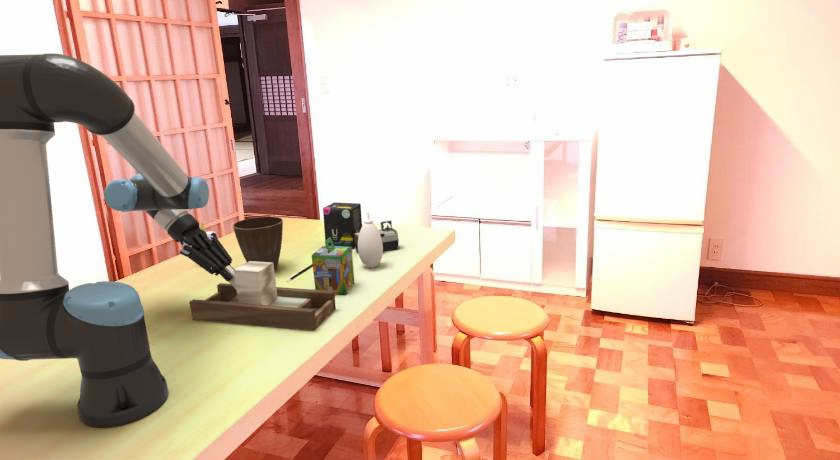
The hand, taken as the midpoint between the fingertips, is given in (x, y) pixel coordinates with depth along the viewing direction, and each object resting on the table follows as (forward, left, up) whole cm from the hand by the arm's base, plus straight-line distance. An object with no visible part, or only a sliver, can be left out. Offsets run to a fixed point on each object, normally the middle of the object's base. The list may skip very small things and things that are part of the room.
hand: (242, 286), depth 143 cm
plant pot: (+29, +12, -7) cm, 32 cm away
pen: (+31, -1, -7) cm, 32 cm away
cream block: (-1, -5, -4) cm, 6 cm away
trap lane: (-1, -5, -7) cm, 9 cm away
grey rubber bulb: (+38, -21, -7) cm, 44 cm away
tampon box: (+59, -3, -7) cm, 59 cm away
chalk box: (+19, -17, -7) cm, 27 cm away
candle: (+32, +34, -7) cm, 47 cm away
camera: (+54, -18, -7) cm, 57 cm away
